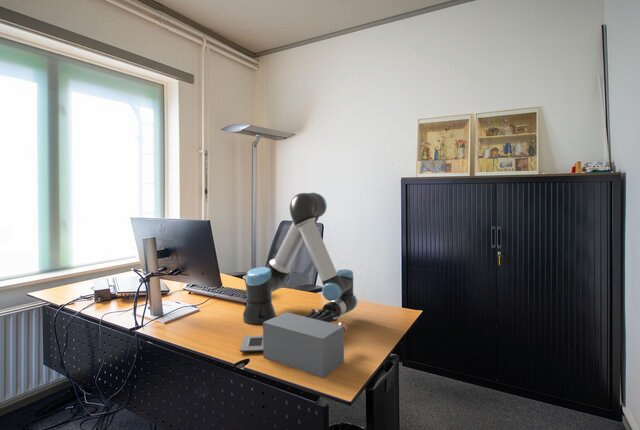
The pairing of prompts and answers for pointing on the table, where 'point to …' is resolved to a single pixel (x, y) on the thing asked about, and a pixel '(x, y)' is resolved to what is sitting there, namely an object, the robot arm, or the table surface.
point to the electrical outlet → (252, 344)
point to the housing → (304, 343)
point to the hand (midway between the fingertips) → (301, 326)
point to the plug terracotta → (344, 326)
